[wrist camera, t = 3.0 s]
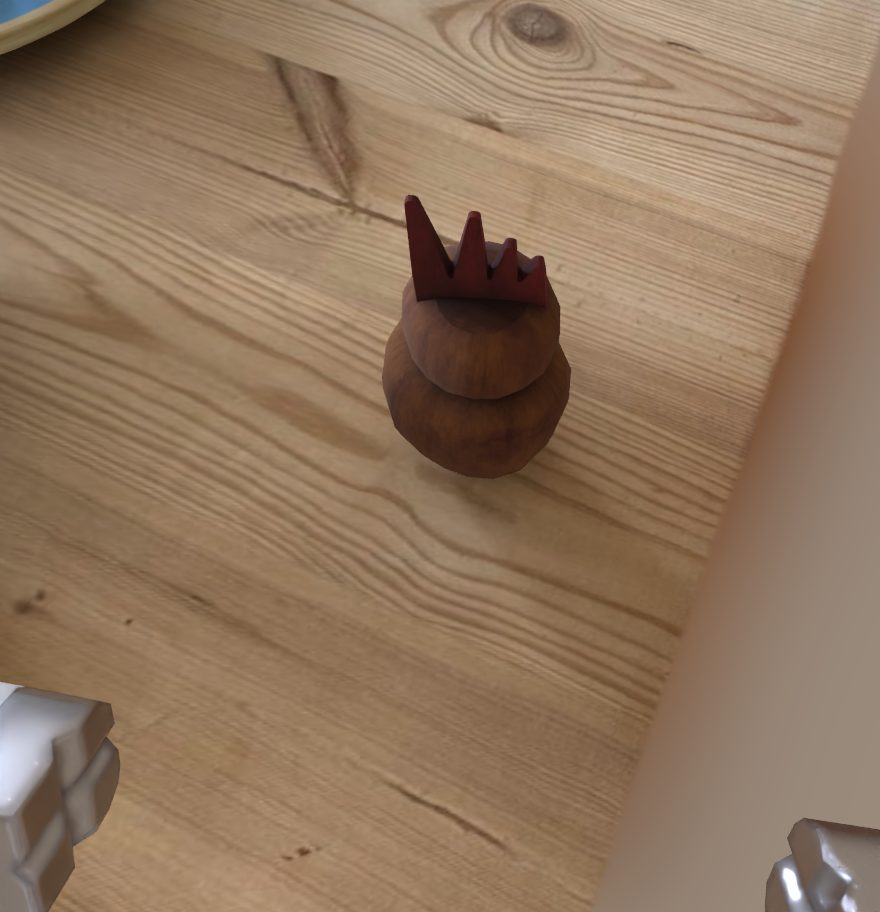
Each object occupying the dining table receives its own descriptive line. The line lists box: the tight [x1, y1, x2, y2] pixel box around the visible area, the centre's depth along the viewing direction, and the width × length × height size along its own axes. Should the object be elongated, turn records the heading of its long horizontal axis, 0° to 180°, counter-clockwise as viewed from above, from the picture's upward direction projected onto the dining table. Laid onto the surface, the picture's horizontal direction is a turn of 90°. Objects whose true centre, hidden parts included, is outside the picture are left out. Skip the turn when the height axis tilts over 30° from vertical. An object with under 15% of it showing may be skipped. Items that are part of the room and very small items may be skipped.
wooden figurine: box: [382, 195, 571, 479], centre depth 24 cm, size 7×6×15 cm
